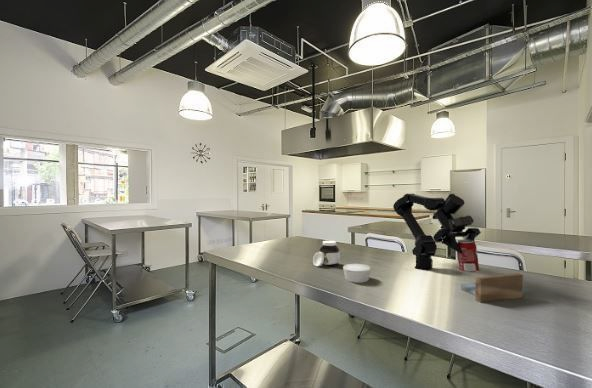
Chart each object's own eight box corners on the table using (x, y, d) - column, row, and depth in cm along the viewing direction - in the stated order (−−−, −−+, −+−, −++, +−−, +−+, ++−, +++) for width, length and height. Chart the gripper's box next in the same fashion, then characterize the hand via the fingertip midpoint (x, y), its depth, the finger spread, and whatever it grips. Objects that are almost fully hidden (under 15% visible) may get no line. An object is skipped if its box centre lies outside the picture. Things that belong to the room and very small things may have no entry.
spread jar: (341, 264, 137) (341, 241, 137) (332, 270, 128) (332, 245, 128) (320, 261, 144) (320, 239, 144) (310, 266, 134) (310, 242, 134)
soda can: (478, 274, 102) (474, 242, 102) (457, 272, 107) (454, 242, 107) (480, 269, 108) (476, 239, 108) (460, 267, 112) (457, 239, 112)
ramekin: (338, 279, 114) (338, 267, 114) (352, 273, 122) (352, 262, 122) (362, 286, 107) (362, 272, 107) (375, 279, 115) (375, 266, 115)
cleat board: (453, 290, 102) (453, 268, 102) (491, 286, 106) (492, 265, 106) (480, 302, 91) (480, 278, 91) (522, 297, 95) (522, 274, 95)
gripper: (438, 209, 108) (461, 242, 98) (477, 208, 113) (502, 239, 102) (425, 226, 116) (444, 258, 106) (461, 224, 121) (483, 255, 110)
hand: (468, 252), depth 106 cm, fingers closed on soda can, 6 cm apart
